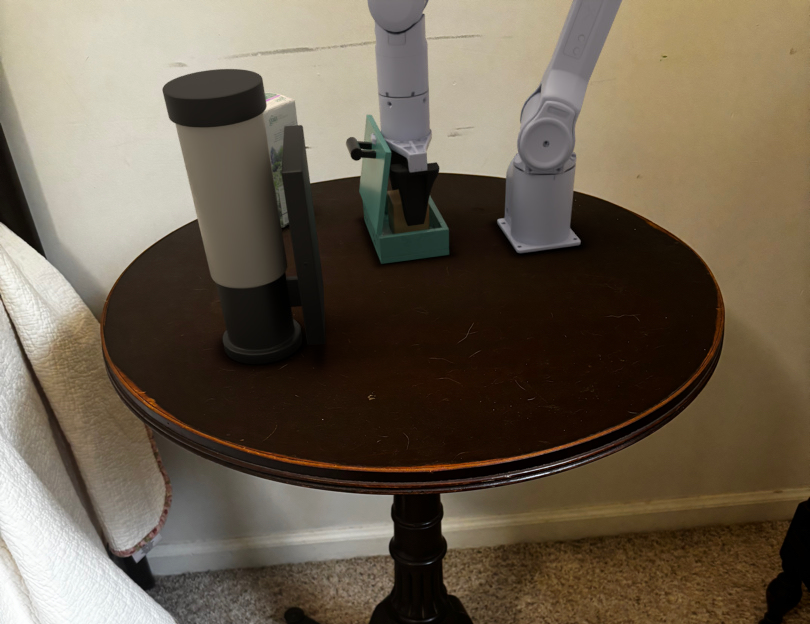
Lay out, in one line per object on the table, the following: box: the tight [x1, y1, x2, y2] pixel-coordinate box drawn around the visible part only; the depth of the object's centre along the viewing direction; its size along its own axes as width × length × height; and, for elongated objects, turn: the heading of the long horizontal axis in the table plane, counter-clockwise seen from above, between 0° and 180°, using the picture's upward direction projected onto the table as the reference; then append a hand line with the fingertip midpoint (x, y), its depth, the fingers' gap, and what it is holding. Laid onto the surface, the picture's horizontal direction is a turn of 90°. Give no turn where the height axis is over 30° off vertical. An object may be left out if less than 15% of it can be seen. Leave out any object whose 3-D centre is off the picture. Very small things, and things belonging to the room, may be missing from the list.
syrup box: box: [263, 91, 299, 229], centre depth 102 cm, size 6×6×14 cm
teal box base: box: [362, 195, 450, 265], centre depth 100 cm, size 8×13×3 cm, turn 11°
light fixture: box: [162, 68, 327, 365], centre depth 76 cm, size 12×11×25 cm
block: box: [387, 189, 430, 234], centre depth 99 cm, size 4×4×4 cm
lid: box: [345, 114, 391, 235], centre depth 95 cm, size 9×13×4 cm
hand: (409, 211), depth 99 cm, fingers open, 7 cm apart
